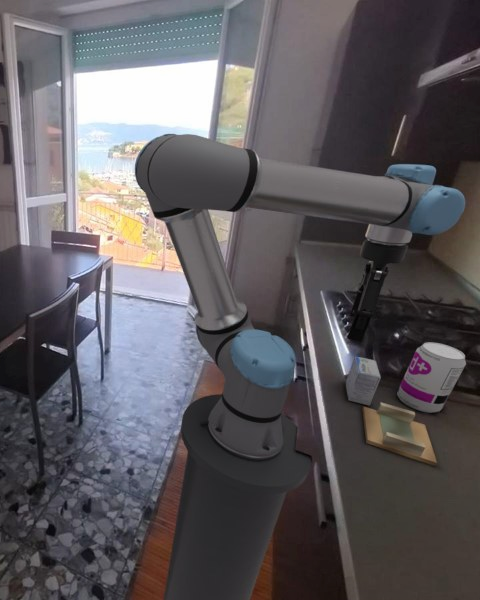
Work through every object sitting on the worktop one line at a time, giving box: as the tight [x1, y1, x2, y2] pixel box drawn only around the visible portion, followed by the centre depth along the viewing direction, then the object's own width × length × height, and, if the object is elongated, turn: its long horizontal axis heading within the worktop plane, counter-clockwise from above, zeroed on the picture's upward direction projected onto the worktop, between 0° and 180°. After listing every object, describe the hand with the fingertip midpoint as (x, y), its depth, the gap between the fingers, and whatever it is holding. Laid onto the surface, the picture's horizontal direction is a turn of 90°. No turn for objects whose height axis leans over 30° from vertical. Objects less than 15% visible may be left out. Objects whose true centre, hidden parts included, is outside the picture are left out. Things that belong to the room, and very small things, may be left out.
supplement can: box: [396, 341, 467, 414], centre depth 83 cm, size 8×8×15 cm
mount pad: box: [361, 402, 438, 467], centre depth 76 cm, size 11×12×4 cm
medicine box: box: [345, 356, 382, 407], centre depth 87 cm, size 8×4×9 cm, turn 150°
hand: (355, 327), depth 85 cm, fingers open, 13 cm apart
